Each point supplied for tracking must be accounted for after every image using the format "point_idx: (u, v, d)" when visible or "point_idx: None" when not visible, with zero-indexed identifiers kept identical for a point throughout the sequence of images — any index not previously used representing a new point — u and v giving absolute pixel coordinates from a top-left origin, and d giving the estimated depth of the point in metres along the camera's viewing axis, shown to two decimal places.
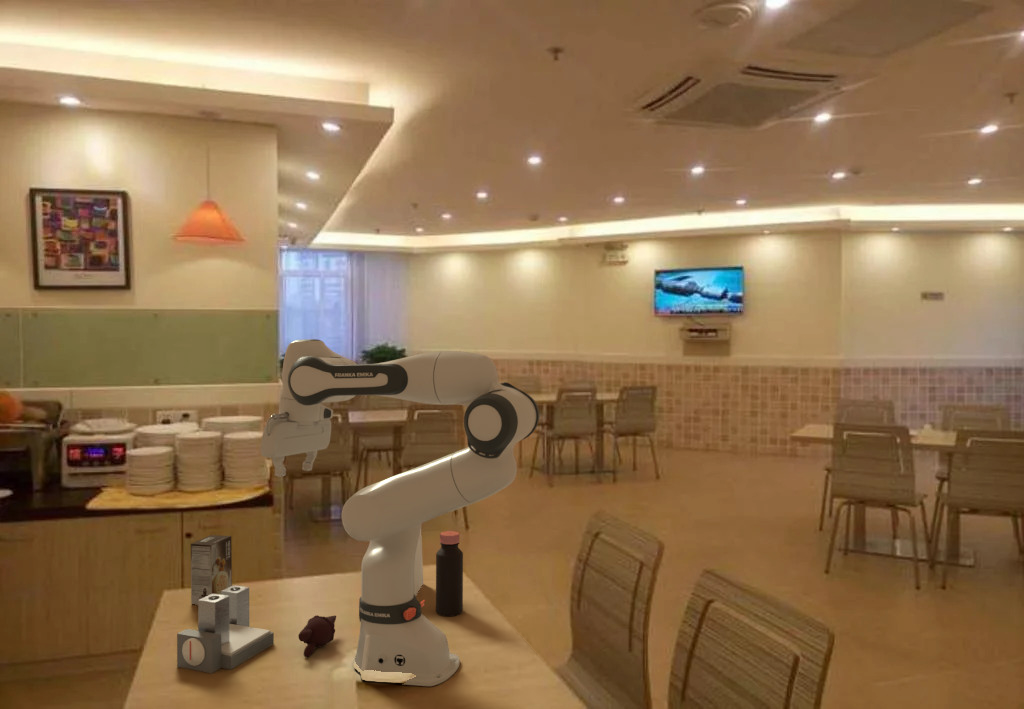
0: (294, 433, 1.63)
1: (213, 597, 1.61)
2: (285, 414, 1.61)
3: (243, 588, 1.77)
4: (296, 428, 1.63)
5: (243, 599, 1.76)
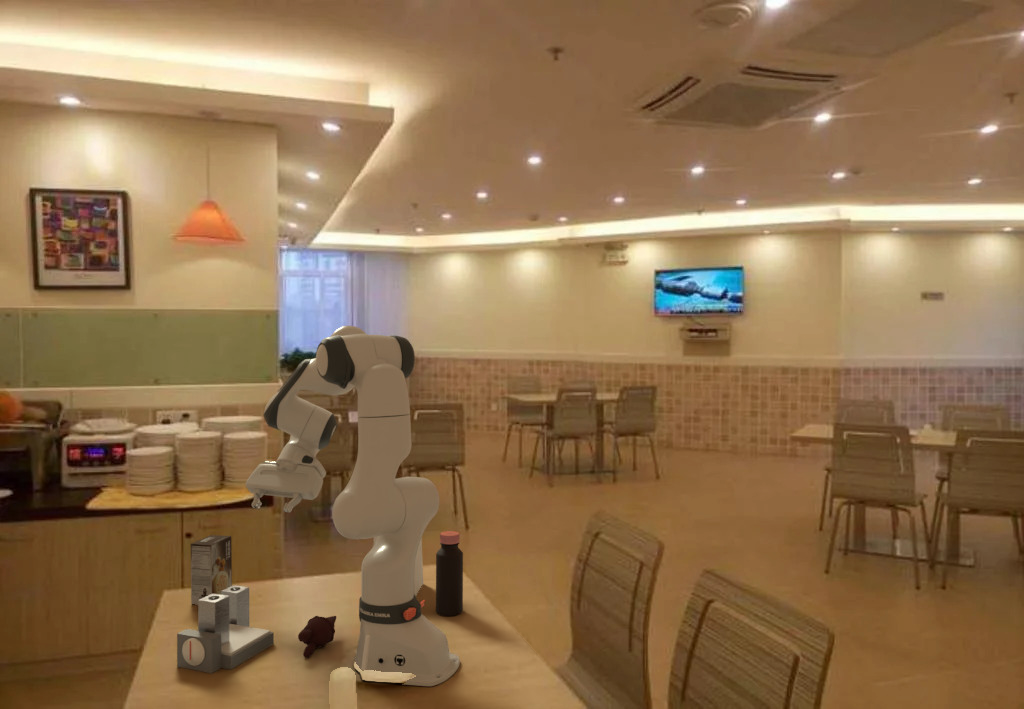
0: (273, 473, 1.95)
1: (213, 597, 1.61)
2: (275, 462, 1.99)
3: (243, 588, 1.77)
4: (276, 469, 1.95)
5: (243, 599, 1.76)
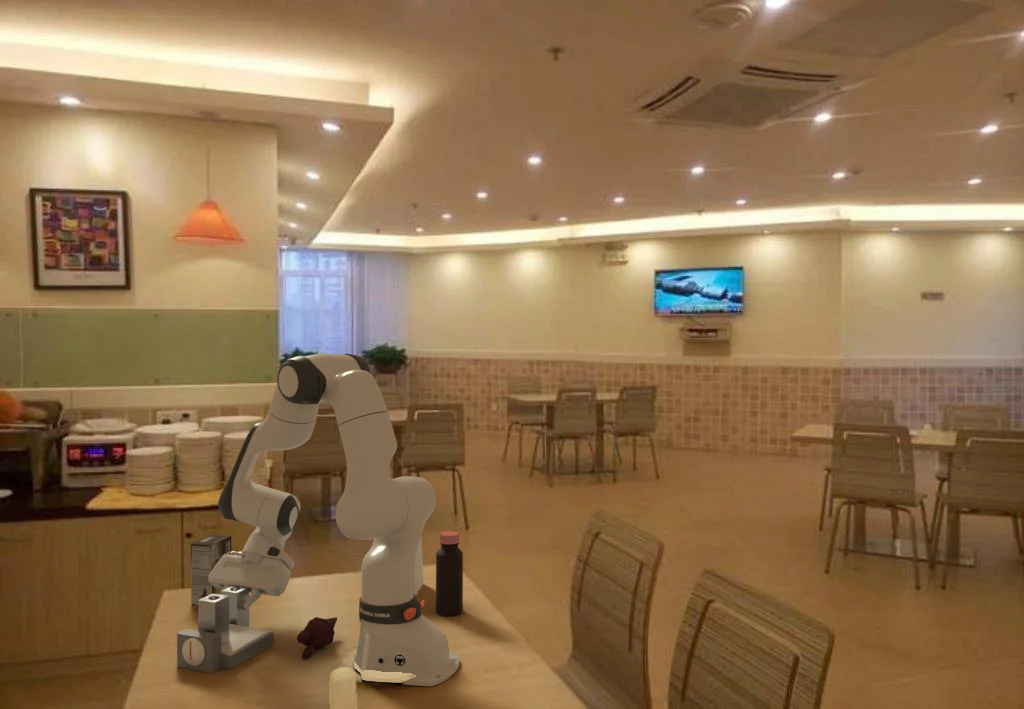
0: (238, 566, 1.82)
1: (213, 597, 1.61)
2: (241, 552, 1.86)
3: (243, 588, 1.77)
4: (241, 561, 1.83)
5: (243, 599, 1.76)
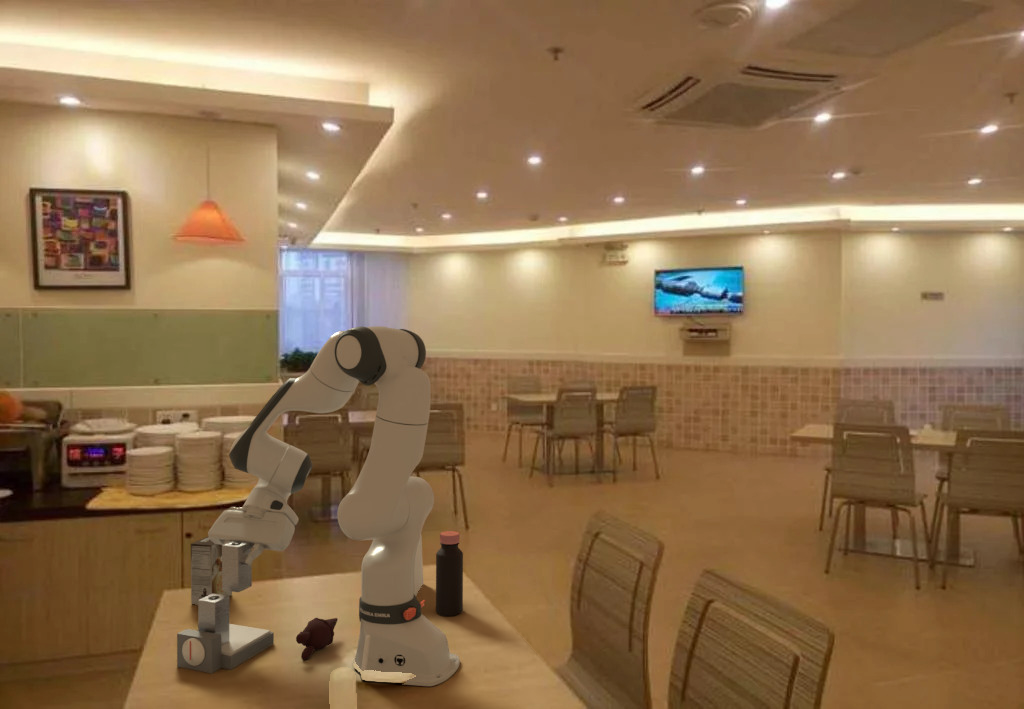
0: (239, 521, 1.74)
1: (213, 597, 1.61)
2: None
3: (245, 543, 1.68)
4: (242, 516, 1.74)
5: (245, 554, 1.67)
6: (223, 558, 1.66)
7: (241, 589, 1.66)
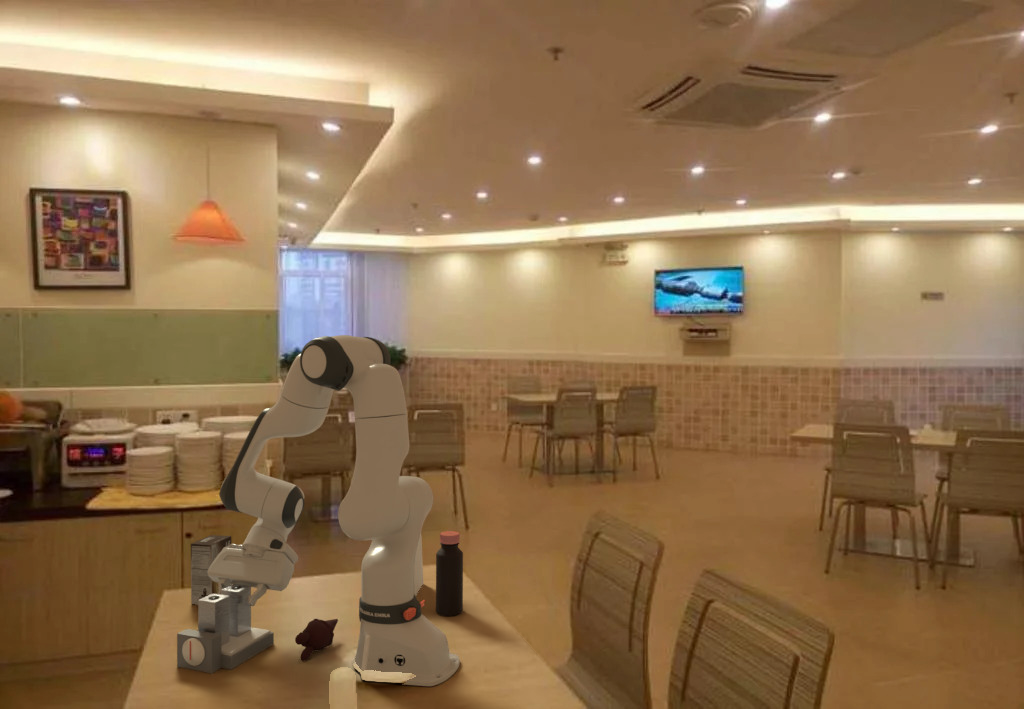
0: (239, 560, 1.74)
1: (213, 597, 1.61)
2: (242, 545, 1.78)
3: (244, 587, 1.69)
4: (242, 555, 1.74)
5: (245, 599, 1.68)
6: None
7: (240, 634, 1.66)
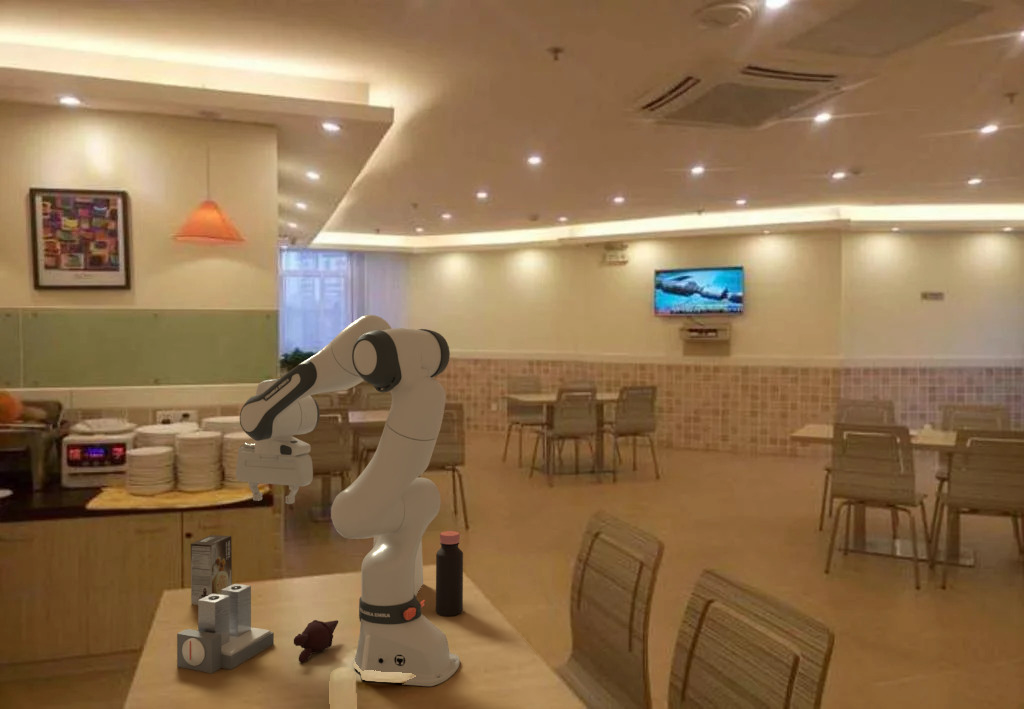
0: (258, 463, 1.83)
1: (213, 597, 1.61)
2: (254, 445, 1.84)
3: (244, 587, 1.69)
4: (259, 459, 1.82)
5: (245, 599, 1.68)
6: None
7: (240, 634, 1.66)
